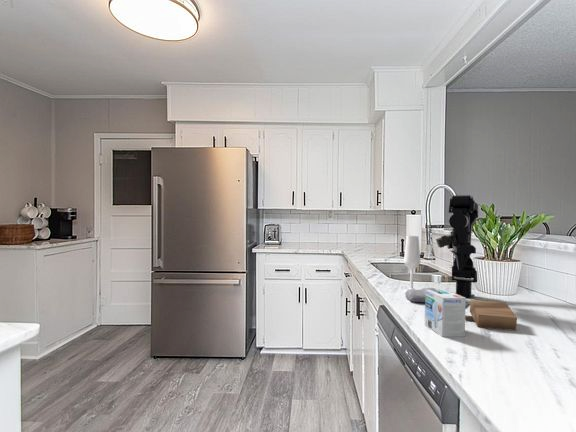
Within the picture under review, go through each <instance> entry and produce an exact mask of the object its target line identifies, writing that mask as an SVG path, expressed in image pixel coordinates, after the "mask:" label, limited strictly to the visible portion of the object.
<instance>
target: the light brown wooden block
mask: <svg viewBox="0 0 576 432" xmlns="http://www.w3.org/2000/svg"><path fill="white" fill-rule="evenodd" d="M469 313H470V316H472V317H473V319H474V321H473V322H474V323H475V325H476V327H477V328H487V329H497V330H508V331H517V324H518V317H517V316H516V314H515V313H514V311H513V310H512V309H511V307H509V305H508V304H507V302H503V301H488V300H473V299H470V302H469Z"/></svg>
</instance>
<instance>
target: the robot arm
mask: <svg viewBox="0 0 576 432" xmlns="http://www.w3.org/2000/svg"><path fill="white" fill-rule="evenodd" d="M448 214H452V215H451V216H450V217H449V220H448V223H449V226H450V227H451V228H452V230H451V231H450V234H448V235H442V236H440V237H438V238H436V239H435V241H436V243H437V246H438V248H444V247H445V246H446V247H447V248H446V249H449V250H450V252H451V253H452V254H453V255H454V257H455V258H454V261H453V265H452V266H451V281H453V282H454V281H455V283H456V284H455V292H454V293H455V294H458V295H460V296H462V297H465V298H467V299H470V298H473V297H475V294H473V293H472V283H473V284H475V283H478V271H477V270H476V267H475V266H474V261H473V259H472V258H471V254H475V255H476V254H477V247H475V246H474V245H472V230H473V227H474V226H475V225H476V224H477V219H478V218H479V204H478V203H477V202H476V201H475V199H474V197H473V196H471V195H470V194H465V195H461V194H459V195H458V194H457V195H452V196H451V198H450V199H449V207H448Z"/></svg>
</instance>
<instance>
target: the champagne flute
mask: <svg viewBox="0 0 576 432" xmlns="http://www.w3.org/2000/svg"><path fill="white" fill-rule="evenodd" d="M405 238H406V239H405V247H404V256H403V263H404V265H405V266H406V267H407V268H408V269H409V270H410V278H409V281H410V282H409V288H408V289H413V290H416V289H415V288H414V270H415V269H417V268H418V267H419V266H420V264H421V253H420V251H421V250H420V241H419V240H420V239H419V236H418V235H406V237H405ZM408 289H407V288H406V289H405V290H403V291H404V292H406V291H407V290H408ZM404 292H403V293H404Z"/></svg>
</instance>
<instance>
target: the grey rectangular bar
mask: <svg viewBox="0 0 576 432" xmlns="http://www.w3.org/2000/svg"><path fill="white" fill-rule="evenodd" d="M466 321H467V322H468V321H469V322H475V321H474V319H473V317H472V315H466V314H465V322H466Z"/></svg>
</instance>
